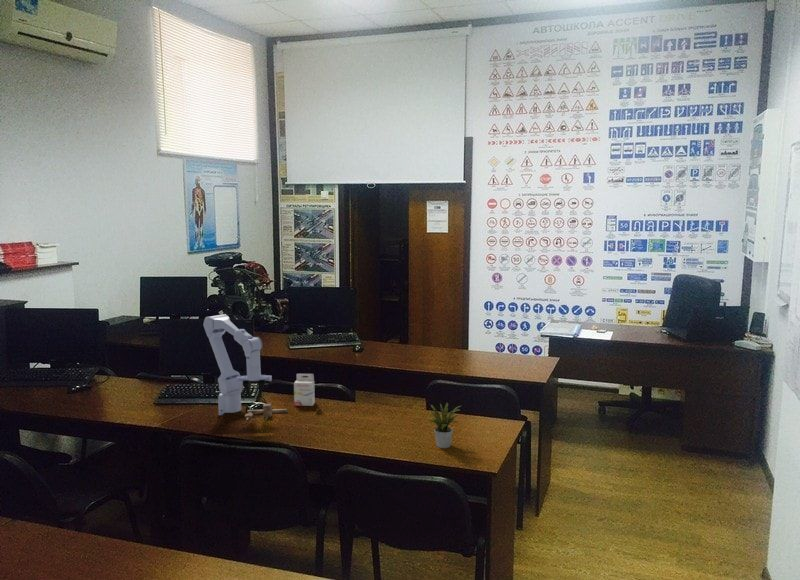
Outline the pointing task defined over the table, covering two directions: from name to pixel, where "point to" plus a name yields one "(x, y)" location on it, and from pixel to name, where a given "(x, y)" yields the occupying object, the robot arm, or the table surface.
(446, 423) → the house plant
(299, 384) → the ink cartridge box
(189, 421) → the table surface
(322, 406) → the table surface
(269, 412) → the sliding leg
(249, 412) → the beam and fixed leg
